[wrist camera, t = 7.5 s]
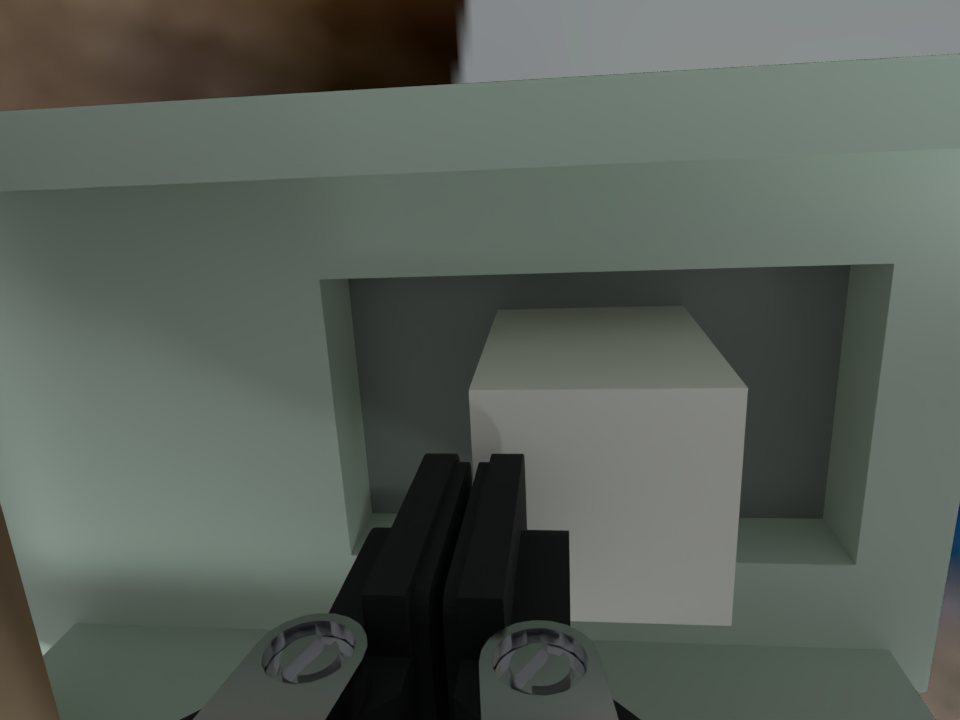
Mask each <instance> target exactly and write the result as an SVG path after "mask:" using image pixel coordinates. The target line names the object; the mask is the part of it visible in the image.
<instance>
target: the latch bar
mask: <svg viewBox="0 0 960 720" xmlns="http://www.w3.org/2000/svg"><path fill="white" fill-rule="evenodd" d="M0 720H60V717H59V713H58V709H57V706H56V702H55V699H54V695H53V691H52V688H51V684H50V681H49V677H48V673H47V670H46V666H45V663H44V659H43V655H42V652H41V648H40V644H39V641H38V637H37V634H36V630H35V626H34V623H33V619H32V616H31V612H30V608H29V605H28V601H27V597H26V594H25V590H24V587H23V583H22V579H21V576H20V572H19V569H18V565H17V561H16V558H15V554H14V551H13V547H12V543H11V540H10V536H9V532H8V529H7V525H6V522H5V518H4V514H3V511H2V507H1V504H0Z"/></svg>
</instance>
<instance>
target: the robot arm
mask: <svg viewBox="0 0 960 720" xmlns="http://www.w3.org/2000/svg"><path fill="white" fill-rule="evenodd" d="M180 720H641V719H639V718H638V717H637V716H635V715H634V714H633V713H631V712H630V711H629V710H627V709H626V708H625V707H623V706H622V705H621V704H619V703H618V702H617V701H615V700H614V699H613V698H612V695H611V691H610V688H609V684H608V681H607V677H606V674H605V670H604V667H603V663H602V660H601V656H600V654H599V652H598V650H597V648H596V646H595V645H594V643H593V642H592V641H591V640H590V639H589V638H588V637H587V636H586V635H584V634H583V633H582V632H580V631H578V630H576V629H574V628H572V627H570V554H569V530H527V511H526V482H525V459H524V454H491V457H490V462H479V464H478V467H477V471H476V474H475V478H474V482H473V485H472V472H471V464H470V462H460V460H459V456H458V454H454V453H426V454H425V455H424V457H423V459H422V461H421V464H420V466H419V468H418V470H417V472H416V475H415V477H414V479H413V481H412V483H411V485H410V488H409V490H408V492H407V494H406V496H405V499H404V501H403V503H402V505H401V507H400V510H399V512H398V514H397V516H396V518H395V521H394V523H393V525H392V527H375V528H372V530H371V531H370V532H369V534H368V536H367V538H366V540H365V542H364V544H363V546H362V548H361V550H360V552H359V554H358V556H357V558H356V560H355V562H354V564H353V566H352V568H351V570H350V571H349V573H348V575H347V577H346V579H345V581H344V583H343V585H342V587H341V589H340V591H339V593H338V595H337V597H336V599H335V601H334V603H333V605H332V607H331V609H330V611H329V613H317V614H311V615H305V616H301V617H298V618H295V619H292V620H290V621H287V622H284V623H283V624H281V625H279V626H277V627H276V628H274V629H272V630H271V631H269V632H268V633H267V634H266V635H265V636H264V637H263V638H262V639H261V640H259V641H258V642H257V644H256V645H255V646H254V647H253V648H252V649H251V651H250V652H249V653H248V654H247V655H246V657H245V658H244V659H243V660H242V661H241V663H240V664H239V665H238V666H237V667H236V669H235V670H234V671H233V672H232V673H231V675H230V676H229V677H228V678H227V679H226V680H225V682H224V683H223V684H222V685H221V686H220V688H219V689H218V690H217V691H216V692H215V694H214V695H213V696H212V697H211V698H210V700H209V701H208V702H207V703H206V704H205V705H204V707H203V708H202V709H200V710H198V711H196V712H194V713H192V714H190V715H188V716H186V717H184V718H182V719H180Z"/></svg>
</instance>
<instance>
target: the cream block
mask: <svg viewBox="0 0 960 720" xmlns="http://www.w3.org/2000/svg"><path fill="white" fill-rule="evenodd" d="M747 395H748V387H747V386H746V385H745V384H744V382H743V381H742V380H741V378H740V377H739V376H738V375H737V373H736V372H735V371H734V370H733V368H732V367H731V366H730V364H729V363H728V362H727V361H726V359H725V358H724V357H723V356H722V354H721V353H720V352H719V350H718V349H717V348H716V347H715V345H714V344H713V343H712V342H711V340H710V339H709V338H708V336H707V335H706V334H705V333H704V331H703V330H702V329H701V328H700V326H699V325H698V324H697V322H696V321H695V320H694V319H693V317H692V316H691V315H690V314H689V312H688V311H687V310H686V308H685V307H684V306H683V305H682V306H636V307H591V308H545V309H499V310H497V313H496V316H495V319H494V321H493V324H492V327H491V330H490V332H489V335H488V338H487V341H486V344H485V346H484V349H483V352H482V355H481V357H480V360H479V363H478V366H477V368H476V371H475V374H474V377H473V379H472V382H471V385H470V388H469V407H470V426H471V444H472V462H473V481H474V478H475V474H476V471H477V467H478V464H479V462H490V457H491V454H524V459H525V482H526V511H527V530H569V554H570V621H583V622H617V623H651V624H685V625H719V626H731V624H732V610H733V596H734V581H735V567H736V553H737V538H738V524H739V510H740V496H741V481H742V467H743V453H744V438H745V424H746V410H747Z"/></svg>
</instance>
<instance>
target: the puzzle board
mask: <svg viewBox="0 0 960 720" xmlns="http://www.w3.org/2000/svg"><path fill="white" fill-rule="evenodd" d="M682 305H683V306H684V307H685V308H686V310H687V311H688V312H689V314H690V315H691V316H692V317H693V319H694V320H695V321H696V322H697V324H698V325H699V326H700V328H701V329H702V330H703V331H704V333H705V334H706V335H707V336H708V338H709V339H710V340H711V342H712V343H713V344H714V345H715V347H716V348H717V349H718V350H719V352H720V353H721V354H722V356H723V357H724V358H725V359H726V361H727V362H728V363H729V364H730V366H731V367H732V368H733V370H734V371H735V372H736V373H737V375H738V376H739V377H740V378H741V380H742V381H743V382H744V384H745V385H746V386H747V387H748V395H747V410H746V424H745V438H744V453H743V467H742V481H741V496H740V510H739V524H738V538H737V553H736V567H735V581H734V596H733V610H732V624H731V626H719V625H685V624H651V623H617V622H583V621H570V627H572V628H574V629H576V630H578V631H580V632H582V633H583V634H584V635H586V636H587V637H588V638H589V639H590V640H591V641H592V642H593V643H594V645H595V646H596V648H597V650H598V652H599V654H600V656H601V660H602V663H603V667H604V670H605V674H606V677H607V681H608V684H609V688H610V691H611V695H612V698H613V699H614V700H615V701H617V702H618V703H619V704H621V705H622V706H623V707H625V708H626V709H627V710H629V711H630V712H631V713H633V714H634V715H635V716H637V717H638V718H639V719H641V720H935V718H934V717H933V715H932V714H931V712H930V711H929V709H928V708H927V706H926V705H925V703H924V702H923V700H922V699H921V697H920V696H919V694H918V693H917V692H926V693H927V689H928V683H929V678H930V672H931V666H932V660H933V654H934V649H935V643H936V637H937V631H938V626H939V620H940V614H941V608H942V602H943V597H944V591H945V585H946V579H947V573H948V568H949V562H950V556H951V550H952V545H953V539H954V533H955V527H956V521H957V516H958V510H959V504H960V54H947V55H931V56H915V57H897V58H880V59H864V60H848V61H831V62H814V63H800V64H799V63H797V64H780V65H764V66H747V67H731V68H714V69H698V70H681V71H663V72H647V73H630V74H614V75H597V76H580V77H564V78H546V79H531V80H513V81H496V82H480V83H463V84H446V85H430V86H413V87H396V88H379V89H363V90H346V91H329V92H313V93H296V94H279V95H263V96H246V97H229V98H213V99H196V100H179V101H162V102H146V103H129V104H112V105H96V106H79V107H62V108H46V109H29V110H12V111H0V504H1V507H2V511H3V514H4V518H5V522H6V525H7V529H8V532H9V536H10V540H11V543H12V547H13V551H14V554H15V558H16V561H17V565H18V569H19V572H20V576H21V579H22V583H23V587H24V590H25V594H26V597H27V601H28V605H29V608H30V612H31V616H32V619H33V623H34V626H35V630H36V634H37V637H38V641H39V644H40V648H41V652H42V655H43V659H44V663H45V666H46V670H47V673H48V677H49V681H50V684H51V688H52V691H53V695H54V699H55V702H56V706H57V709H58V713H59V717H60V720H180V719H182V718H184V717H186V716H188V715H190V714H192V713H194V712H196V711H198V710H200V709H202V708H203V707H204V705H205V704H206V703H207V702H208V701H209V700H210V698H211V697H212V696H213V695H214V694H215V692H216V691H217V690H218V689H219V688H220V686H221V685H222V684H223V683H224V682H225V680H226V679H227V678H228V677H229V676H230V675H231V673H232V672H233V671H234V670H235V669H236V667H237V666H238V665H239V664H240V663H241V661H242V660H243V659H244V658H245V657H246V655H247V654H248V653H249V652H250V651H251V649H252V648H253V647H254V646H255V645H256V644H257V642H258V641H259V640H261V639H262V638H263V637H264V636H265V635H266V634H267V633H268V632H269V631H271V630H272V629H274V628H276V627H277V626H279V625H281V624H283V623H284V622H287V621H290V620H292V619H295V618H298V617H301V616H305V615H311V614H317V613H329V611H330V609H331V607H332V605H333V603H334V601H335V599H336V597H337V595H338V593H339V591H340V589H341V587H342V585H343V583H344V581H345V579H346V577H347V575H348V573H349V571H350V570H351V568H352V566H353V564H354V562H355V560H356V558H357V556H358V554H359V552H360V550H361V548H362V546H363V544H364V542H365V540H366V538H367V536H368V534H369V532H370V531H371V530H372V528H375V527H392V525H393V523H394V521H395V518H396V516H397V514H398V512H399V510H400V507H401V505H402V503H403V501H404V499H405V496H406V494H407V492H408V490H409V488H410V485H411V483H412V481H413V479H414V477H415V475H416V472H417V470H418V468H419V466H420V464H421V461H422V459H423V457H424V455H425V454H426V453H454V454H458V456H459V460H460V462H470V464H471V472H472V485H473V482H474V481H473V462H472V444H471V426H470V407H469V388H470V385H471V382H472V379H473V377H474V374H475V371H476V368H477V366H478V363H479V360H480V357H481V355H482V352H483V349H484V346H485V344H486V341H487V338H488V335H489V332H490V330H491V327H492V324H493V321H494V319H495V316H496V313H497V310H499V309H545V308H591V307H636V306H682Z"/></svg>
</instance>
